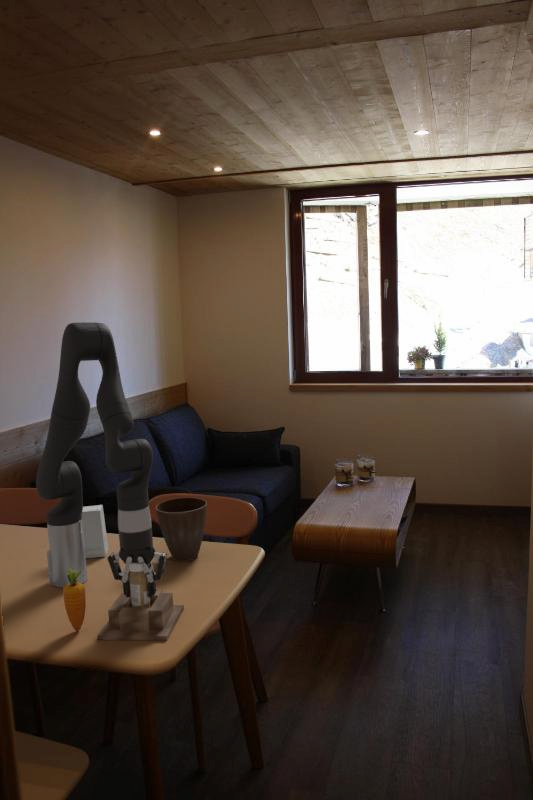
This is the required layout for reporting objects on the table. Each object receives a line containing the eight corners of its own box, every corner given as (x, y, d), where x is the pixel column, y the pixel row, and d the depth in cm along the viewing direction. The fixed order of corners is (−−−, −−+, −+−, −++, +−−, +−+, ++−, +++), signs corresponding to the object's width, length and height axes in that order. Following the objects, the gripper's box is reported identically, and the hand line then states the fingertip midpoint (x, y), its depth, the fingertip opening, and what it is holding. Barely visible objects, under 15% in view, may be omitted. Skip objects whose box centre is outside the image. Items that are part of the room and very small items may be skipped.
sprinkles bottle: (154, 616, 163) (150, 561, 161) (136, 621, 161) (132, 565, 159) (146, 609, 167) (142, 555, 165) (128, 614, 164) (124, 560, 162)
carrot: (68, 627, 164) (63, 566, 162) (90, 625, 164) (84, 564, 162) (64, 637, 159) (58, 574, 157) (86, 635, 159) (81, 572, 157)
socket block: (97, 639, 157) (95, 616, 156) (120, 608, 173) (118, 587, 172) (167, 640, 155) (165, 617, 154) (183, 608, 171) (182, 587, 170)
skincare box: (108, 550, 215) (104, 504, 213) (105, 557, 209) (101, 509, 207) (80, 552, 214) (76, 505, 212) (76, 559, 208) (72, 511, 206)
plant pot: (190, 569, 196) (187, 514, 194) (149, 562, 203) (144, 509, 201) (219, 551, 209) (216, 500, 207) (179, 545, 216) (176, 495, 214)
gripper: (99, 531, 158) (105, 603, 160) (161, 530, 156) (166, 603, 158) (110, 521, 165) (116, 589, 167) (169, 520, 163) (174, 589, 166)
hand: (140, 595), depth 163 cm, fingers open, 4 cm apart
